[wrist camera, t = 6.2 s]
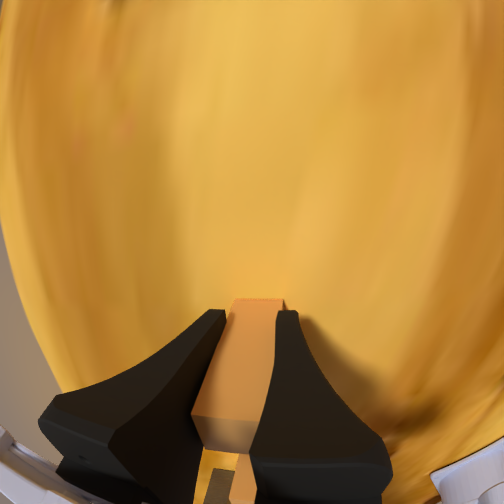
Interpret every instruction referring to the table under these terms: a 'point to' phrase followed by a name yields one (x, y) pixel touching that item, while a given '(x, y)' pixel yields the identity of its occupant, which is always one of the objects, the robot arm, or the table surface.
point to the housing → (219, 487)
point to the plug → (238, 388)
